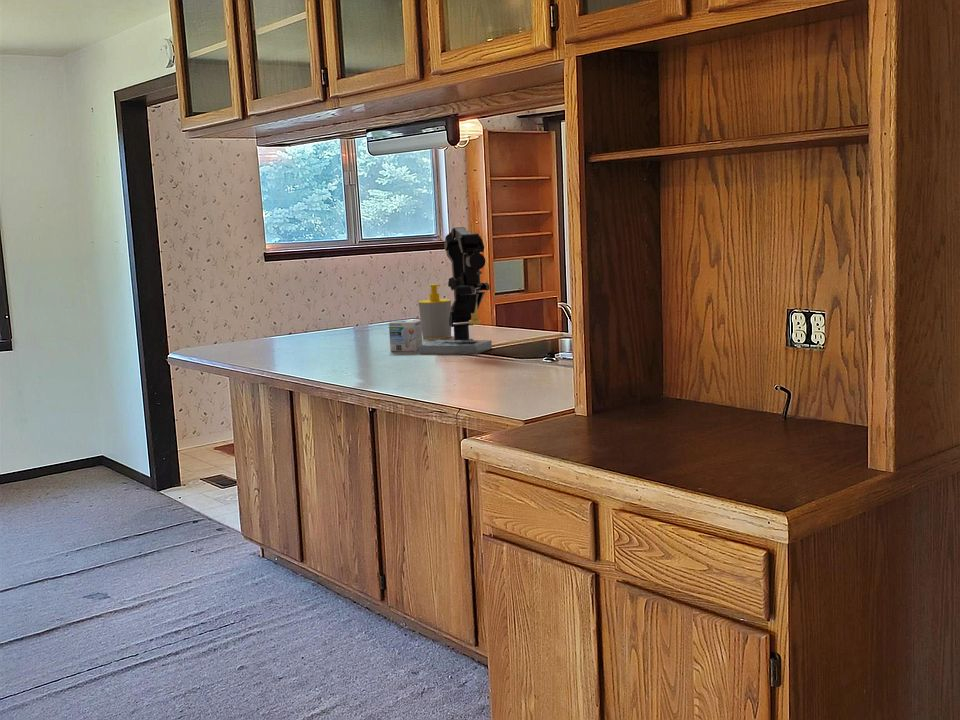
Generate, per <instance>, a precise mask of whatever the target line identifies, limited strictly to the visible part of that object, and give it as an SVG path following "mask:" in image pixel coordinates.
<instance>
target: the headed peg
mask: <svg viewBox="0 0 960 720" xmlns="http://www.w3.org/2000/svg"><path fill="white" fill-rule="evenodd" d="M478 313H479V308H477V304H476V308H475V312H474V313H471V320H469V322H468V323H469V324H470V325H469V326H475V325H481V324H482V320H481V319H480V318H479V314H478Z"/></svg>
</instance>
